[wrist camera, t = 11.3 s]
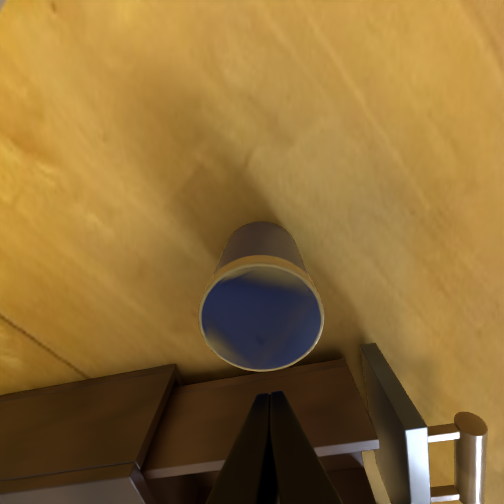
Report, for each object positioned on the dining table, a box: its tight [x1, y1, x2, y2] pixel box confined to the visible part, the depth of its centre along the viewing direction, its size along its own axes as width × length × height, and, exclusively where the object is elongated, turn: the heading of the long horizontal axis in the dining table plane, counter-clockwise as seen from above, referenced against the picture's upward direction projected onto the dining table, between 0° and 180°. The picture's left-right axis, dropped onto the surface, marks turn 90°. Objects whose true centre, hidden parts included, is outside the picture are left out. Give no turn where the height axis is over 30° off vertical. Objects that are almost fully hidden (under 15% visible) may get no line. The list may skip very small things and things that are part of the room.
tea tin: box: [198, 222, 325, 372], centre depth 16 cm, size 6×6×8 cm
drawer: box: [140, 343, 488, 504], centre depth 20 cm, size 23×13×7 cm, turn 104°
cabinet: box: [0, 364, 185, 504], centre depth 22 cm, size 20×15×9 cm
